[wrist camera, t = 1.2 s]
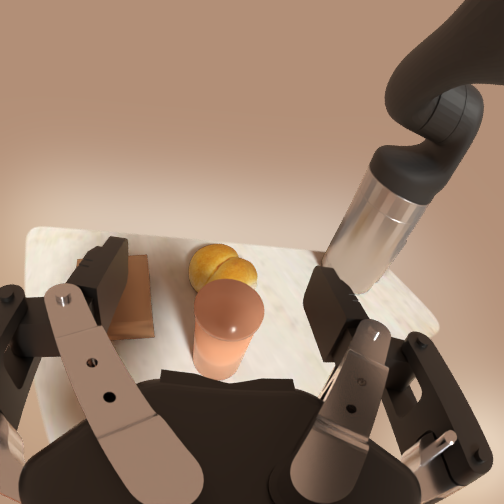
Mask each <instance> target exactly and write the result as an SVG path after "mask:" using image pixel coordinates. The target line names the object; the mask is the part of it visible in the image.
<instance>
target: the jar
mask: <svg viewBox="0 0 504 504" xmlns="http://www.w3.org/2000/svg"><path fill="white" fill-rule="evenodd" d="M194 315H195V318H196V321H195V334H194V349H193V362H194V366H195V368H196V369H197V371H198V372H199V373H200V374H201V375H203V376H204V377H207V378H211V379H214V380H224V379H227V378H229V377H231V376H232V375H233V374H234V373H235V372H236V371H237V369H238V367H239V365H240V363H241V361H242V358H243V356H244V354H245V352H246V350H247V347H248V345H249V343H250V341H251V339H252V336H253V334H254V333H255V332H256V331H257V330H258V328H259V327H260V325H261V323H262V320H263V317H264V305H263V302H262V300H261V298H260V296H259V295H258V293H257V292H256V291H255V290H254V289H253V288H252V287H250V286H249V285H247V284H245V283H243V282H241V281H238V280H234V279H218V280H214V281H212V282H209V283H208V284H206V285H205V286H203V287H202V288H201V289H200V291H199V292H198V294H197V295H196V298H195V302H194Z"/></svg>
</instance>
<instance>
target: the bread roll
mask: <svg viewBox="0 0 504 504" xmlns="http://www.w3.org/2000/svg"><path fill="white" fill-rule="evenodd" d="M189 279H190V282H191V285H192V287H193V288H194V289H195V291H197V292H199V291H200V289H201V288H202V287H203V286H205V285H206V284H208V283H209V282H212V281H214V280H218V279H234V280H238V281H241V282H243V283H245V284H247V285H249V286H250V287H252V288H253V289H255V288H256V287H257V272H256V269H255V267H254V266H253V265H252V263H250V262H249V261H247V260H245V259H242V258H239V257H238V254H237V252H236V251H235V250H234V249H233V248H231V247H229V246H227V245H224V244H213V245H208V246H205V247H203V248H201V249H199V250H198V251H197V252H196V253H195V254H194V256H193V257H192V259H191V262H190V265H189Z"/></svg>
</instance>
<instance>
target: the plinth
mask: <svg viewBox="0 0 504 504" xmlns="http://www.w3.org/2000/svg"><path fill="white" fill-rule="evenodd" d="M82 260H83V259H77V266H79V263H80V262H81V261H82ZM77 266H76V267H77ZM107 335H108V337H109V339H110V340H124V339H138V338H151V337H155V336H154V327H153V317H152V307H151V294H150V280H149V269H148V259H147V255H134V256H128V279H127V284H126V287H125V289H124V291H123V294H122V296H121V298H120V301H119V303H118V306H117V308H116V311H115V313H114V316H113V318H112V321H111V323H110V326H109V328H108V331H107Z"/></svg>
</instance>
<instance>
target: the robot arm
mask: <svg viewBox="0 0 504 504" xmlns="http://www.w3.org/2000/svg"><path fill="white" fill-rule="evenodd" d="M476 83H477V84H478V83H479V84H495V85H504V0H465V1H464V2H463V3H462V5H460V7H459V8H458V9H457V10H456V11H455V12H454V13H453V14H452V16H450V17H449V19H448V20H446V21H445V22H444V23H443V24H442V25H441V26H440V27H439V28H438V29H437V30H436V31H434V32H433V33H432V34H431V35H430V36H428V37H427V38H426V39H425V40H424V41H423V42H421V43H420V44H419V45H418V46H417V47H416V48H415V49H413V50H412V51H411V52H410V53H409V54H408V55H407V56H406V57H405V58H404V59H403V60H402V61H401V63H400V64H399V65H398V66H397V68H396V69H395V71H394V72H393V74H392V76H391V78H390V80H389V82H388V85H387V87H386V91H385V106H386V109H387V112H388V113H389V115H390V116H391V118H392V119H394V120H395V121H396V122H397V123H399V124H400V125H402V126H403V127H405V128H407V129H409V130H411V131H412V132H414V133H416V134H418V135H420V136H422V137H424V138H426V139H425V141H423V142H422V143H420V144H418V145H413V146H394V145H393V146H392V145H385V146H381V147H379V148H378V149H377V150H376V151H375V153H374V155H373V158H372V160H371V162H370V164H369V166H368V169H367V170H366V173H365V175H364V177H363V179H362V181H361V183H360V186H359V188H358V190H357V192H356V194H355V196H354V198H353V200H352V202H351V204H350V206H349V208H348V210H347V212H346V214H345V216H344V218H343V220H342V222H341V224H340V226H339V228H338V230H337V232H336V234H335V235H334V237H333V239H332V241H331V243H330V245H329V247H328V249H327V251H326V252H325V254H324V256H323V259H322V266H316V267H315V268H314V270H313V273H312V275H311V278H310V281H309V284H308V286H307V289H306V292H305V294H304V299H303V306H304V310H305V313H306V315H307V318H308V321H309V323H310V326H311V329H312V332H313V334H314V337H315V340H316V343H317V345H318V348H319V351H320V354H321V356H322V359H323V362H335V367H334V368H333V370H332V372H331V374H330V376H329V378H328V380H327V382H326V383H325V385H324V387H323V389H322V391H321V393H320V395H319V396H318V397H316V396H314V395H312V394H310V393H307V392H305V391H302V390H299V389H295V387H294V383H293V379H257V380H251V381H245V382H239V383H231V384H230V383H224V382H221V381H217V380H214V379H211V378H207V377H204V376H201V375H197V374H194V373H185V372H177V371H169V370H161V377H160V379H153V380H148V381H144V382H140V383H138V384H135V382H134V380H133V379H132V377H131V376H130V374H129V372H128V371H127V369H126V367H125V366H124V364H123V362H122V361H121V359H120V357H119V355H118V354H117V352H116V350H115V348H114V347H113V345H112V343H111V341H110V339H109V337H108V335H107V331H108V328H109V326H110V323H111V321H112V318H113V316H114V313H115V311H116V308H117V306H118V303H119V301H120V298H121V296H122V294H123V291H124V289H125V287H126V284H127V279H128V240H127V239H126V238H119V237H112V236H110V237H109V238H108V240H107V241H106V242H105V244H104V245H103V247H100V246H96V247H95V248H93V249H91V250H90V251H88V252H87V254H86V255H85V256H84V258H83V260H82V261H81V262H80V263H79V266H77V267H76V269H75V270H74V272H73V273H72V275H71V276H70V278H69V279H68V280H67V282H66V283H63V284H58V285H55V286H53V287H51V288H50V289H49V290H48V291H47V292H46V294H45V296H44V297H33V298H26V297H25V293H24V290H23V289H22V288H21V287H20V286H18V285H6V286H3V287H1V288H0V494H1V495H3V496H5V497H7V498H9V499H12V500H14V501H16V502H18V503H20V504H435V503H437V502H439V501H440V500H443V499H444V498H446V497H448V496H450V495H451V494H453V493H455V492H456V491H459V490H460V489H462V488H464V487H465V486H467V485H468V484H470V483H472V482H473V481H475V480H477V479H478V478H480V477H481V476H482V475H484V474H485V473H487V472H488V471H489V470H490V469H491V467H492V464H493V455H492V451H491V449H490V447H489V445H488V443H487V440H486V438H485V436H484V434H483V432H482V430H481V428H480V425H479V424H478V421H477V419H476V417H475V416H474V414H473V412H472V410H471V408H470V406H469V404H468V402H467V400H466V398H465V397H464V394H463V393H462V391H461V389H460V387H459V385H458V384H457V382H456V380H455V379H454V377H453V375H452V373H451V372H450V370H449V368H448V366H447V365H446V363H445V362H444V360H443V358H442V356H441V355H440V353H439V352H438V350H437V348H436V347H435V345H434V343H433V342H432V341H431V340H430V339H429V338H428V337H427V336H426V335H424V334H422V333H420V332H411V333H409V334H408V336H407V338H406V339H405V340H401V339H397V338H393V337H391V334H390V331H389V330H388V329H387V327H386V326H384V325H383V324H382V323H380V322H378V321H376V320H372V319H369V317H368V316H367V314H366V312H365V311H364V309H363V307H362V306H361V304H360V302H358V299H357V297H356V296H354V295H355V294H361V293H365V292H367V291H368V290H369V289H370V288H371V287H372V286H373V285H374V283H376V282H378V281H379V279H380V278H381V277H382V275H383V274H384V273H385V271H386V270H387V269H388V267H389V266H390V265H391V263H392V262H393V261H394V259H395V258H396V256H397V255H398V254H399V252H400V251H401V250H402V248H403V247H404V245H405V244H406V242H407V240H406V239H407V238H408V236H409V235H410V233H411V232H412V230H413V229H414V227H415V226H416V224H417V223H418V221H419V219H420V218H421V216H422V215H423V213H424V212H425V210H426V208H427V207H428V205H429V204H430V202H431V201H432V199H433V198H434V196H435V195H436V194H437V193H438V192H439V191H440V190H442V189H443V188H444V186H445V185H446V184H447V182H448V181H449V179H450V178H451V176H452V174H453V173H454V171H455V170H456V168H457V167H458V165H459V163H460V162H461V160H462V159H463V157H464V155H465V154H466V152H467V150H468V149H469V147H470V145H471V144H472V142H473V140H474V138H475V136H476V134H477V132H478V130H479V127H480V124H481V121H482V118H483V111H484V104H483V99H482V96H481V94H480V92H479V91H478V90H477V89H476V88H475V87H474V86H473V85H471V84H476ZM7 346H8V347H7ZM6 348H7V349H6ZM5 350H6V351H5ZM60 356H61V358H62V361H63V364H64V366H65V369H66V372H67V374H68V377H69V379H70V382H71V384H72V387H73V389H74V392H75V394H76V396H77V399H78V401H79V403H80V405H81V407H82V410H83V412H84V414H85V416H86V419H85V420H83V421H82V422H80V423H79V424H78V425H76V426H75V427H74V428H72V429H71V430H69V431H68V432H66V433H65V434H64V435H62V436H61V437H59V438H58V439H57V440H55V441H54V442H52V443H51V444H49V445H48V446H47V447H45V448H44V449H42V450H41V451H39V452H38V453H36V454H35V455H34V456H32V457H31V458H30V459H29V460H28V461H27V462H26V463H25V461H24V444H23V440H22V438H21V436H20V435H19V433H18V432H17V429H18V425H19V421H20V418H21V415H22V411H23V408H24V405H25V402H26V399H27V396H28V393H29V390H30V387H31V384H32V381H33V379H34V376H35V373H36V371H37V368H38V365H39V363H40V360H41V358H42V357H60ZM415 377H416V378H417V380H418V382H419V384H420V387H421V389H422V396H421V399H420V400H419V402H418V403H417V401H416V398H415V396H414V394H413V392H412V390H411V387H410V385H409V384H410V383H411V382H412V381H413V380H414V378H415ZM381 399H382V402H383V404H384V407H385V410H386V412H387V415H388V418H389V421H390V423H391V426H392V429H393V432H394V435H395V437H396V440H397V443H398V446H399V449H400V452H401V455H402V457H401V461H399V460H398V459H397V458H395V457H394V456H392V455H391V454H390V453H388V452H387V451H386V450H384V449H383V448H382V447H380V446H379V445H378V444H376V443H375V442H374V441H372V440H371V439H369V436H370V433H371V430H372V427H373V424H374V421H375V417H376V415H377V411H378V408H379V405H380V401H381Z"/></svg>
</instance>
